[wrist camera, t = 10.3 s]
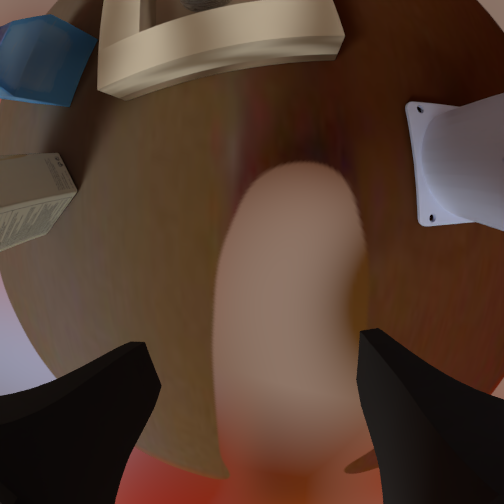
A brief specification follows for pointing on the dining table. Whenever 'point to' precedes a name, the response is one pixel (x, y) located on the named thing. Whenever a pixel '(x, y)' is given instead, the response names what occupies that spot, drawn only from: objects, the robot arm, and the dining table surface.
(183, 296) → the dining table surface
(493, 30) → the dining table surface
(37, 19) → the perfume bottle
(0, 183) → the skincare box
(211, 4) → the metal pin
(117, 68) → the socket block
